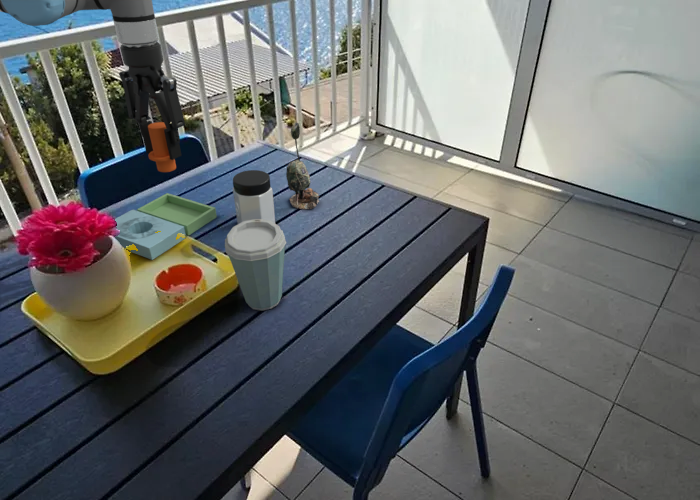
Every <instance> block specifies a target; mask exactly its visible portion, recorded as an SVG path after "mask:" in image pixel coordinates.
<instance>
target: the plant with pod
mask: <svg viewBox="0 0 700 500" xmlns="http://www.w3.org/2000/svg"><path fill="white" fill-rule="evenodd" d="M300 135H301V127H300V124H299V122H296V121H295V122H294V124H293V125H292V126H291V128H290V136H291V137H292V139H293V140H294V144H295V149H296V155H297V159H295V160H293V161H290V162H289V163H288V164H286V163H284V165H285V166H286V165H287V166H286V172H285V173H286V174H285V176H286V181H287V186H288V189H289V190H290V191H293V192H294V193H295V194H293V195H292V196H291V197H289V202H290V204H291V206H292V207H293V208H296V209H300V210H312V209H315V208H316V207H317V206H318V204H319V202H320V200H319V197H320V196H319V193H318V192H316V191H314V190H313V188H311V176H310V174H309V171H308V169H307V166H306V164H305V163H304V161H302V160H300V155H299V150H298V142H297V141H298V139H299V138H300Z"/></svg>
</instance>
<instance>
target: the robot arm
mask: <svg viewBox="0 0 700 500" xmlns="http://www.w3.org/2000/svg"><path fill="white" fill-rule="evenodd" d="M99 10H100V11H101V10H103V11H106V10H110V12H111V16H112V21H113V25H114V29H115V34H116V38H117V42H118V43H119V44H121V45H120V47H119V51H120V54H121V58H122V62H123V65H124V66H126V67H128V69H126V70H123V71H119V73H118V76H119V78H120V80H121V82H122V85H123V92H124V97H125V102H126V108H127V112H128V113H127V114H128V118H129V119H130V120H135V122H136V123H137V124H138V129H139V132H140V135H141V137H142V141H143V144H144V145H143V146H144V148H145V153H146V154H148V155H149V153H150V152H152V151H153V147H152V143H151V138H150V134H149V130H148V125H150V124H152V123H153V121H152V120H151V119H152V117H150V116H149V111H150V110H149V107H150V98H151V99H153V100H154V104H155V105H156V107H157V110H158V113H159V114H160V116H161V119H162V122H164V124H165V126H166V129H164V133H165V138H166V143H167V147H168V152H169V157H170V159H171V160H174V159H175V160H176V159H178V158H181V157H182V156H183V154H182V150H181V146H180V145H181V144H180V143H181V138H180V132H179V128H182V127H184V126H185V125H186V122H185V117H184V114H183V110H182V105H181V103H180V97H179V93H178V90H177V83H178V81H177V79H176V77H174V76H172V77H168V75H167V76H166V75H165V72H164V70H163V68H162V64H163V63H164V61H165V60H164V54H163V50H162V49H163V48H162V44H161V43H160V42H159V40H160V34H159V30H158V25H157V19H156V15H155V9H154V5H153V0H0V12H1V13H5V14H8V15H10V16H11V17H12V18H13V19H15V20H16V21H18V22H19V23H22V24H23V25H26V26H30V27H31V26H32V27H38V26H46V25H47V26H48V25H51V24H54V23H55V22H56V21H58V20H60V19H62V18H65V17H66V16H70V15H72V14H74V13H77V12H79V11H99Z"/></svg>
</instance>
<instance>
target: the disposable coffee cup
mask: <svg viewBox="0 0 700 500" xmlns="http://www.w3.org/2000/svg"><path fill="white" fill-rule="evenodd" d="M286 244H287V241H286V236H285V234H284V231H283V229H281V227H280V225H278V223H277V224H276V222H275V223H274V222H272V221H270V220H263V219H254V220H247V221H243V222H241V223H240V224H238V223H237V224H236V225H234V226H232V228H231V229H230V230H229V232H228V233H227V235H226V237H225V239H224V248H225V249H224V250H225V253H226V254H227V255H228V258H229V260H230V264H231V265H232V268H233V271H234V273H235V277H236V280H237V282H238V285H239V287H240V291H241V292H242V294H243V295H242V296H243V298H244V300H245V303H246V304H247V305H248V307H250V308H251V309H252V310H255V311H261V312H262V311H267V310H271V309H273V308H275V307H276V306H278V305H279V303H280V301H281V298H283V285H284V284H283V283H284V269H285V268H284V266H285V253H286V252H285V251H286V250H285V249H286Z"/></svg>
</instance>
